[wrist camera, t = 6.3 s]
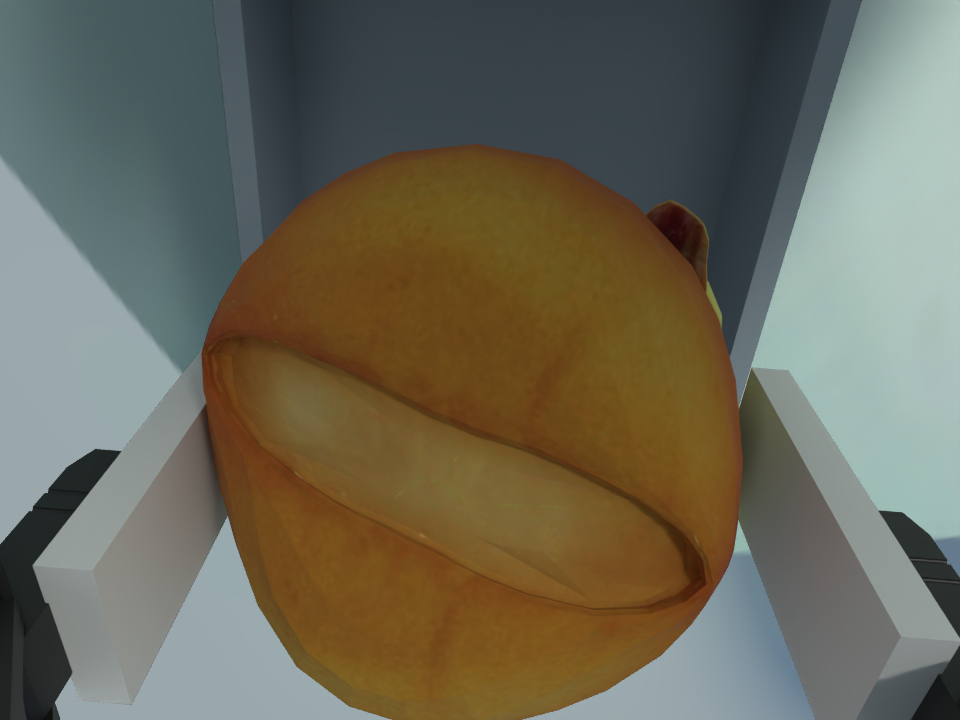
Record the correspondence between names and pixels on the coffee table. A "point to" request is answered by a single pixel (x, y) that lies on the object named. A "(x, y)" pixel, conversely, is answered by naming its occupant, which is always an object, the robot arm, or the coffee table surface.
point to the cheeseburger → (475, 433)
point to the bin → (548, 107)
